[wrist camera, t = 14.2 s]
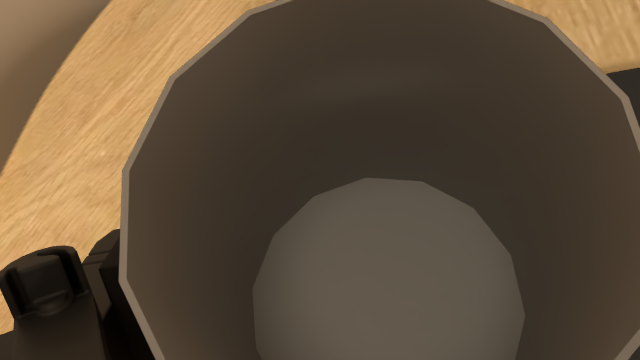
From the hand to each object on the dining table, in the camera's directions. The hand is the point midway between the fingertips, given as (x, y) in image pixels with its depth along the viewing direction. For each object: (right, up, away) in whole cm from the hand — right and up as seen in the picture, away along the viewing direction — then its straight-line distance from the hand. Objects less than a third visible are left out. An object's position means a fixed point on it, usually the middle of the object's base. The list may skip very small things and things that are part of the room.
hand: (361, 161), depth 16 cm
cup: (+1, -4, +2) cm, 5 cm away
